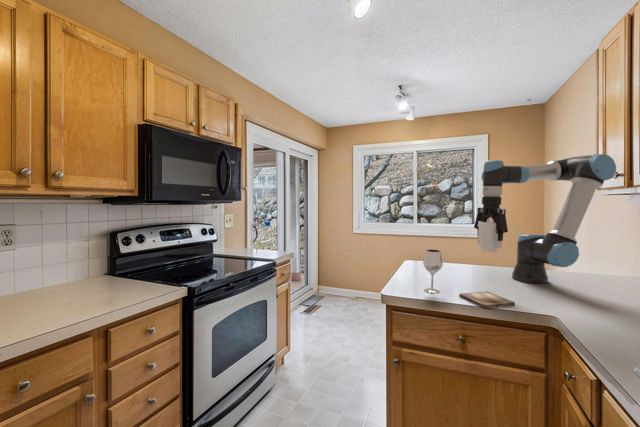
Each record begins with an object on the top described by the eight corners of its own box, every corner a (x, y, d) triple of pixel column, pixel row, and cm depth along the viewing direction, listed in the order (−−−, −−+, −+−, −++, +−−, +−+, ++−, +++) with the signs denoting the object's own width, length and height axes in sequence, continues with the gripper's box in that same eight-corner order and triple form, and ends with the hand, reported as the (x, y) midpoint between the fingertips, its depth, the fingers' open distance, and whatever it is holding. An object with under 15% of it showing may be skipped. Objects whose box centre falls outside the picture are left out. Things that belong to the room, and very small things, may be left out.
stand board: (486, 294, 135) (487, 290, 135) (514, 305, 122) (514, 301, 122) (459, 296, 132) (459, 292, 132) (484, 308, 118) (485, 304, 118)
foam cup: (503, 253, 135) (505, 223, 134) (480, 252, 137) (482, 222, 136) (496, 249, 144) (498, 221, 143) (474, 248, 146) (476, 220, 145)
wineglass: (421, 292, 136) (423, 251, 135) (422, 287, 144) (423, 248, 143) (442, 295, 134) (443, 253, 132) (441, 289, 141) (443, 249, 140)
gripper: (467, 195, 149) (464, 242, 150) (505, 196, 127) (502, 251, 129) (480, 195, 150) (478, 242, 152) (520, 196, 129) (516, 250, 131)
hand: (489, 246), depth 140 cm, fingers closed on foam cup, 9 cm apart
